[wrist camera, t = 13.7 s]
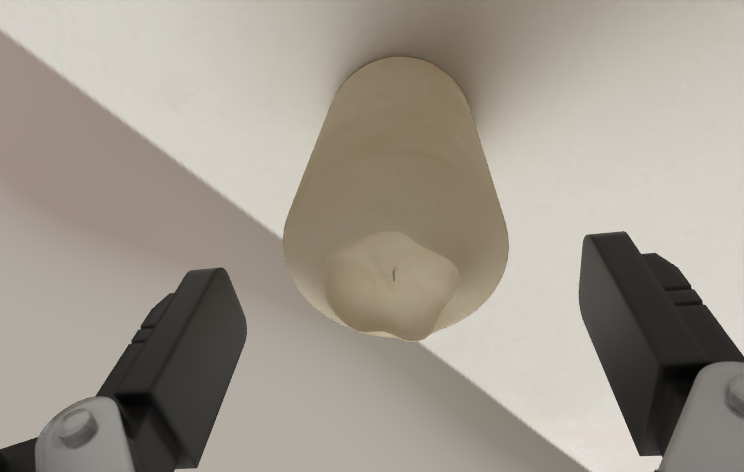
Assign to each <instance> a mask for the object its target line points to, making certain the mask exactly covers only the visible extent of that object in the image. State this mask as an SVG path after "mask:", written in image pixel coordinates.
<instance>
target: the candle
mask: <svg viewBox="0 0 744 472" xmlns="http://www.w3.org/2000/svg"><path fill="white" fill-rule="evenodd" d="M508 250H509V241H508V232H507V228H506V223H505V220H504V216H503V213H502V210H501V207H500V203H499V200H498V197H497V194H496V190H495V187H494V184H493V181H492V177H491V174H490V171H489V168H488V165H487V161H486V158H485V155H484V152H483V148H482V145H481V142H480V139H479V136H478V132H477V129H476V126H475V123H474V119H473V116H472V113H471V110H470V108H469V105H468V103H467V100H466V98H465V96H464V94H463V92H462V90H461V89H460V87H459V86H458V85H457V83H456V82H455V81H454V80H453V79H452V78H451V77H450V76H449V75H448V74H447V73H446V72H444V71H443V70H441V69H440V68H439V67H437V66H435V65H433V64H431V63H429V62H426V61H424V60H421V59H417V58H412V57H401V56H400V57H389V58H384V59H380V60H377V61H374V62H371V63H369V64H367V65H365V66H363V67H362V68H361V69H359V70H358V71H356V72H355V73H354V74H352V75H351V76H350V77H349V78H348V79H347V80H346V81H345V82H344V84H343V85H342V86H341V87H340V89H339V90H338V92H337V94H336V95H335V97H334V100H333V102H332V104H331V106H330V108H329V111H328V113H327V116H326V118H325V121H324V123H323V126H322V129H321V131H320V134H319V136H318V139H317V141H316V144H315V147H314V149H313V152H312V154H311V157H310V159H309V162H308V165H307V167H306V170H305V172H304V175H303V177H302V180H301V183H300V185H299V188H298V190H297V193H296V195H295V198H294V201H293V203H292V206H291V208H290V211H289V214H288V216H287V220H286V223H285V227H284V235H283V251H284V257H285V262H286V265H287V268H288V271H289V273H290V276H291V278H292V279H293V281H294V283H295V285H296V286H297V288H298V289H299V291H300V292H301V293H302V295H303V296H304V297H305V298H306V299H307V300H308V301H309V302H310V303H311V304H312V305H313V306H314V307H316V308H317V309H318V310H319V311H320V312H322V313H323V314H325V315H326V316H328V317H329V318H331V319H332V320H334V321H336V322H338V323H340V324H342V325H344V326H346V327H348V328H350V329H353V330H354V331H356V332H361V333H366V334H370V335H375V336H382V337H392V338H399V339H401V340H404V341H408V342H418V341H420V340H423V339H425V338H427V337H428V336H429V335H430V334H432V333H434V332H436V331H439V330H441V329H443V328H446V327H448V326H450V325H453V324H455V323H457V322H459V321H460V320H462V319H464V318H466V317H467V316H469V315H470V314H471V313H473V312H474V311H476V310H477V309H478V308H479V307H480V306H481V305H482V304H483V303H484V302H485V301H486V300H487V299H488V298H489V297H490V295H491V294H492V293H493V292H494V290H495V289H496V287H497V285H498V284H499V282H500V280H501V278H502V275H503V273H504V271H505V267H506V263H507V260H508Z"/></svg>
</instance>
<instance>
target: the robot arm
mask: <svg viewBox="0 0 744 472" xmlns="http://www.w3.org/2000/svg"><path fill="white" fill-rule="evenodd" d="M579 305H580V311H581V315H582V318H583V321H584V324H585V326H586V328H587V331H588V333H589V335H590V338H591V340H592V343H593V345H594V347H595V350H596V352H597V355H598V357H599V359H600V362H601V364H602V367H603V369H604V371H605V374H606V376H607V379H608V381H609V383H610V386H611V388H612V391H613V393H614V395H615V398H616V400H617V403H618V405H619V407H620V410H621V412H622V415H623V417H624V419H625V422H626V424H627V427H628V429H629V431H630V434H631V436H632V439H633V441H634V443H635V446H636V448H637V451H638V453H639V455H640V456H660V455H662V457H663V459H662V461H661V464H660V466H659V468H658V470H655V471H654V472H744V356H743V355H742V354H741V352H740V351H739V349H738V348H737V347H736V345H735V344H734V343H733V341H732V340H731V339H730V337H729V336H728V335H727V333H726V332H725V331H724V329H723V328H722V327H721V325H720V324H719V323H718V321H717V320H716V318H715V317H714V316H713V314H712V313H711V312H710V310H709V309H708V308H707V306H706V305H703V303H702V300H701V298H700V297H699V296H698V294H697V293H696V291H695V290H694V289H691V285H690V283H689V282H688V281H687V279H686V278H685V277H684V275H683V274H682V273H681V271H680V270H679V269H678V267H676V266H675V265H673V264H671V263H670V262H668V261H667V260H665V259H664V258H662V257H661V256H659V255H658V254H656V253H649V254H641V253H640V252H639V250H638V249H637V247H636V246H635V244H634V243H633V241H632V240H631V238H630V237H629V235H628V234H627V233H626V232H624V231H623V232H612V233H601V234H590V235H586V236H585V237H584V240H583V247H582V259H581V271H580V282H579ZM246 335H247V325H246V319H245V316H244V313H243V310H242V308H241V305H240V303H239V300H238V298H237V295H236V293H235V290H234V288H233V285H232V283H231V280H230V278H229V276H228V273H227V272H226V270H225V269H224V268H212V269H200V270H191V271H189V272H188V273H187V274H186V275H185V277H184V278H183V280H182V282H181V283H180V285H179V287H178V288H177V290H176V292H175V293H170V294H169V295H167V296H166V297H165V298H164V299H163V300H162V301H161V302H160V303H158V304H157V305H156V306H155V307H154V308H153V309H152V310H151V311H150V313H149V314H148V316H147V317H146V319H145V320H144V322H143V324H142V325H141V330H138V331H137V333H136V334H135V336H134V337H133V339H132V344H129V345H128V347H127V348H126V350H125V351H124V353H123V355H122V356H121V357H120V359H119V361H118V362H117V364H116V365H115V367H114V368H113V370H112V371H111V373H110V375H109V376H108V378H107V379H106V381H105V383H104V384H103V385H102V387H101V389H100V390H99V392H98V393H97V395H96V396H95V397H91V398H87V399H83V400H81V401H78V402H76V403H74V404H72V405H70V406H69V407H67V408H65V409H64V410H63V411H61V412H60V413H59V414H57V415H56V416H55V417H54V418H53V419H52V420H51V421H50V422H49V423H48V424H47V425H46V426H45V427H44V429H43V430H42V432H41V433H40V435H39V437H37V438H34V439H31V440H28V441H25V442H22V443H18V444H15V445H12V446H9V447H6V448H3V449H0V472H174V470H175V469H186V468H197V467H198V464H199V461H200V459H201V456H202V454H203V451H204V448H205V446H206V443H207V441H208V438H209V435H210V433H211V430H212V428H213V425H214V422H215V420H216V417H217V415H218V412H219V409H220V407H221V404H222V401H223V399H224V396H225V394H226V391H227V388H228V386H229V383H230V380H231V378H232V375H233V373H234V370H235V368H236V365H237V362H238V360H239V357H240V354H241V352H242V349H243V347H244V344H245V341H246Z"/></svg>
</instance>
